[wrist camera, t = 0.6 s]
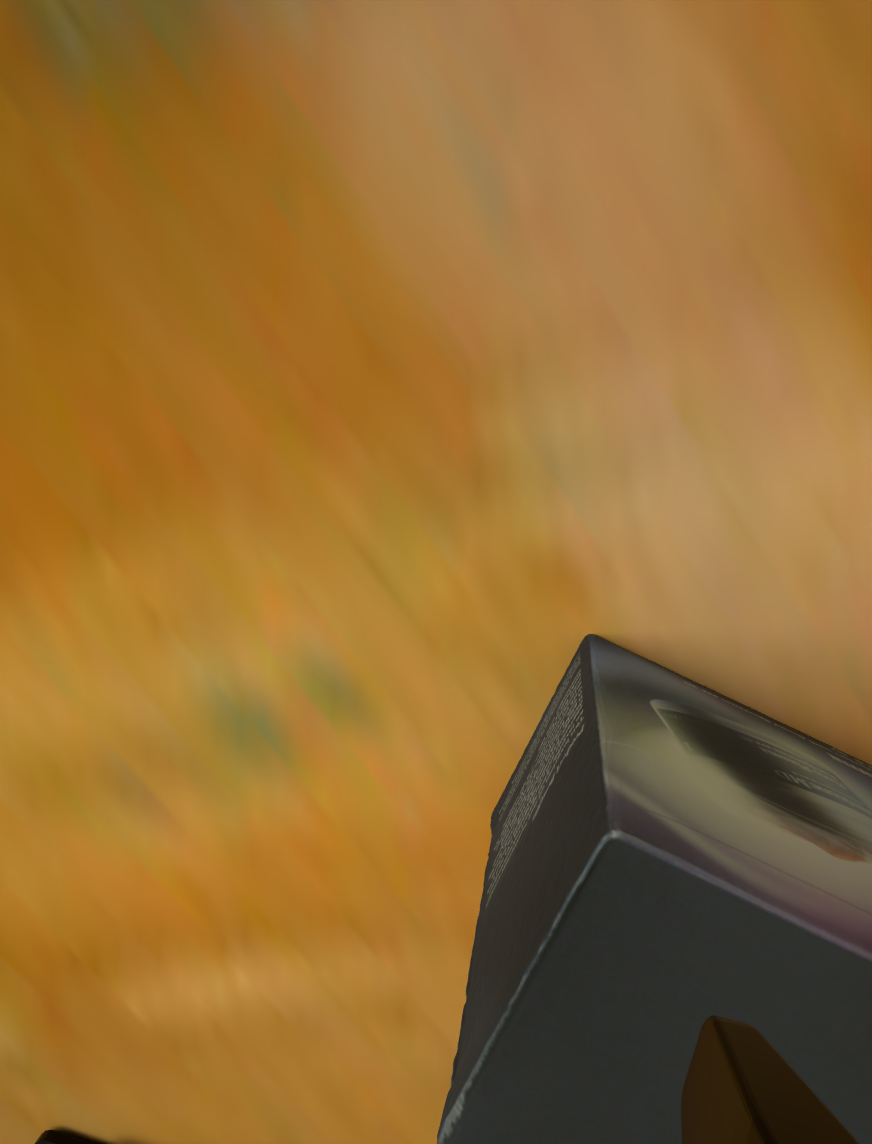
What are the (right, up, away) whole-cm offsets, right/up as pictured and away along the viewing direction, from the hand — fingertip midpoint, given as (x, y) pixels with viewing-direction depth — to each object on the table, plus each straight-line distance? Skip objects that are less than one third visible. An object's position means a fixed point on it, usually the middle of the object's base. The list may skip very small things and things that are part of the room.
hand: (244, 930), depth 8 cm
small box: (+9, -3, +13) cm, 17 cm away
